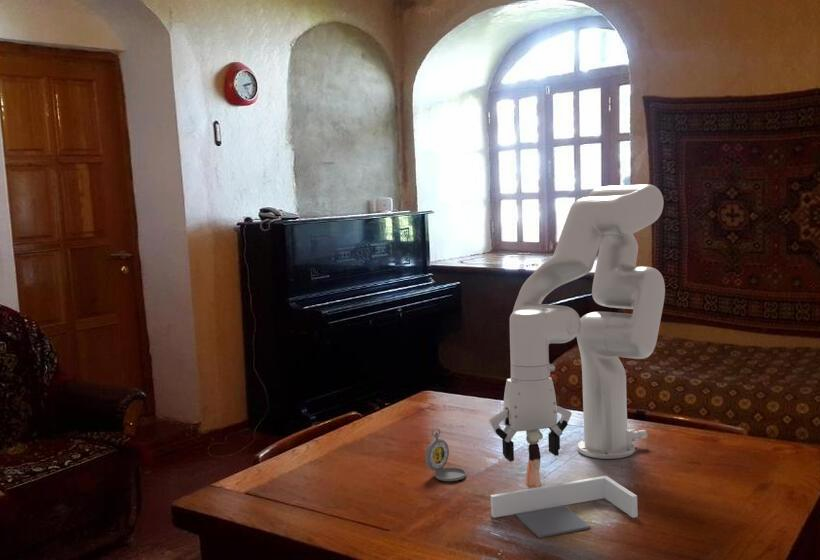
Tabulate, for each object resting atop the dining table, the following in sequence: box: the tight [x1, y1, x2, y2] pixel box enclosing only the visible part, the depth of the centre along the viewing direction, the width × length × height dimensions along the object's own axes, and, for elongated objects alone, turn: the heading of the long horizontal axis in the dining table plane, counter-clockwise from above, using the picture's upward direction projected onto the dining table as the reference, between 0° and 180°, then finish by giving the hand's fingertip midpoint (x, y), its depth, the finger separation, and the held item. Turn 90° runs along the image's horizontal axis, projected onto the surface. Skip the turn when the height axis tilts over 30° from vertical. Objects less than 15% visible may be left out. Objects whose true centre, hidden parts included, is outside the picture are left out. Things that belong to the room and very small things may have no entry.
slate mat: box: [515, 505, 592, 539], centre depth 145 cm, size 10×10×1 cm
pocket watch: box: [424, 427, 467, 482], centre depth 171 cm, size 8×8×10 cm
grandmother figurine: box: [524, 429, 544, 489], centre depth 161 cm, size 8×4×13 cm, turn 5°
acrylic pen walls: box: [490, 475, 639, 519], centre depth 147 cm, size 24×11×4 cm, turn 106°
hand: (531, 456), depth 160 cm, fingers open, 9 cm apart
